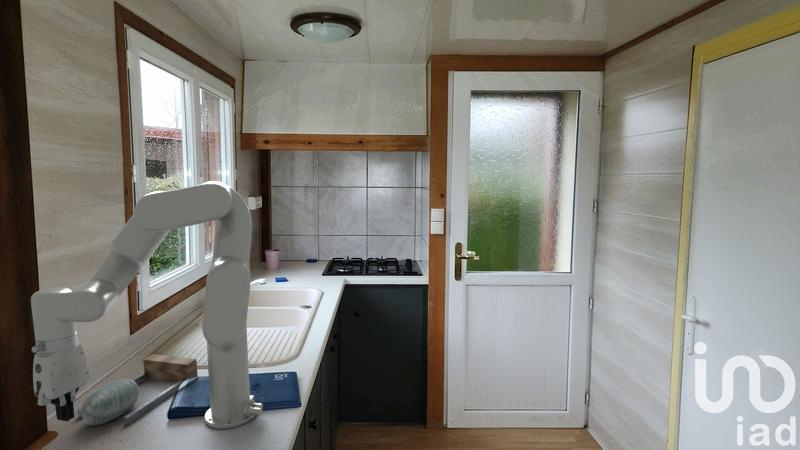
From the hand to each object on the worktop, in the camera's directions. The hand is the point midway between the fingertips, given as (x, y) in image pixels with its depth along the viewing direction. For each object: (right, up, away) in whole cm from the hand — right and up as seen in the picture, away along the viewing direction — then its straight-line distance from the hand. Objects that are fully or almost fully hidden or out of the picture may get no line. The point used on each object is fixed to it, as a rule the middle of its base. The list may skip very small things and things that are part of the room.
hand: (65, 418), depth 106 cm
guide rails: (+5, -3, +20) cm, 21 cm away
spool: (+3, -5, +13) cm, 14 cm away
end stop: (+8, -2, +33) cm, 34 cm away
